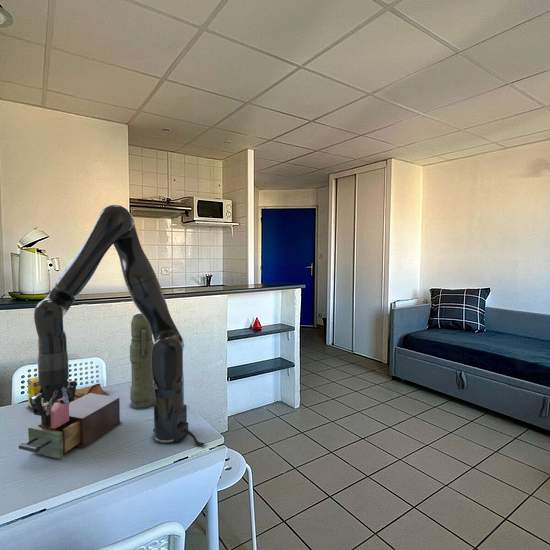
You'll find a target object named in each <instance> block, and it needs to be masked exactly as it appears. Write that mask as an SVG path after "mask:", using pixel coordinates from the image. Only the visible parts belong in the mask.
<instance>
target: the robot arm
mask: <svg viewBox="0 0 550 550" xmlns="http://www.w3.org/2000/svg"><path fill="white" fill-rule="evenodd" d="M134 219H135V218H134V217H133V215H132V214H131V212H130V211H129V210H128V209H127V208H126V207H124V206H122V205H119V204H111V205H108V206H106V207H104V208H103V209H102V210H101V211H100V213H99V215H98V218H97V219H96V222H95V224H94V225H93V228H92V230H91V231H90V233H89V235H88V237H87V238H86V240H85V241H84V243H83V245H82V246H81V247H80V248H79V250H78V251H77V253H76V254H75V256H74V257H73V258H72V260H71V261H70V262H69V263H68V264H67V266H66V267H65V269H64V270H63V271H62V273H61V274H60V275H59V277H58V278H57V280H56V281H55V283H54V287H53V288H52V289H51V291H50V292H49V293H48V294H47V296H46V297H45V298H44V299H43V300H41V301H39V302H38V303H37V304H36V305H35V308H34V311H33V320H34V326H35V330H36V334H37V349H38V350H37V351H38V354H37V355H38V356H37V373H38V374H37V377H38V379H39V384H40V387H41V388H40V391H39V394H37V395H36V396H31V397H30V398H29V400H30V403H31V406H32V409H31V410H32V412H33V415H34V416H38V417H40V421H41V420H42V426H43V427H47V428H48V427H50V426H51V416H50V412H51V408H52V407H53V405H54V402H55V401H56V400H57V399H58V400H59V403H62V404H68V405H69V403H70V402H71V401H74V398H75V391H76V389H77V385H78V381H77V380H73V379H72V380H70V371H69V370H70V368H69V354H68V342H67V339H68V337H67V333H66V331H65V330H64V317H65V315H66V314H67V313H68V311H69V310H70V308H71V306H72V305H73V303H74V302H75V300H76V299H77V297H78V296H79V295H80V294H81V293H82V291H83V290H84V289H85V287H86V286H87V284H88V283H89V282H90V280H91V279H92V277H93V276H94V274H95V273H96V271H97V269H98V267H99V265H100V264H101V261H102V260H103V258H104V256H105V255H106V254H107V252H108V251H109V250H110V248H111V247H112V246H113V247H114V249H115V251H116V253H117V256H118V259H119V263H120V269H121V272H122V277H123V279H124V282H125V286H126V289H127V290H128V293H129V295H130V298H131V300H132V302H133V304H134V305H135V307H136V308H137V310H138V311H139V312H140V314H142V315H143V316H144V317H145V319H146V320H147V322H148V324H149V326H150V329H151V331H152V338H153V340H154V341H153V343H154V345H153V347H152V377H153V383H154V405H153V426H154V427H153V429H152V433H153V439H154V441H155V442H157V443H161V444H170V443H178V442H179V441H180V440H181V439H182V438H183V437H184V436H186V434H187V435H189V436H190V437H191V438H192V440H193V442H194V443H195V444H196V445H197V446H202V447H203V446H204V445H205V443H204V442H200V441H199V440H198V439H197V437H196V435H194V434H193V433H192V431H190V430H189V422H188V416H187V415H188V407H187V406H188V405H187V404H185V374H184V366H183V365H184V349H185V341H184V339H183V336H182V335H181V333H180V331H179V329H178V328H177V326H176V324H175V322H174V320H173V318H172V316H171V313H170V310H169V308H168V303H167V301H166V298H165V295H164V292H163V290H162V286H161V284H160V281H159V279H158V277H157V274H156V272H155V269H154V268H153V266H152V264H151V262H150V261H149V257H147V255H146V253H145V251H144V249H143V247H142V245H141V242H140V239H139V235H138V231H137V228H136V224H135V220H134ZM70 393H71V396H70ZM41 398H42V400H41ZM46 401H48V402H49V403H47V402H46ZM46 407H47V408H46Z"/></svg>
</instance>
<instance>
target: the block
mask: <svg viewBox="0 0 550 550" xmlns="http://www.w3.org/2000/svg"><path fill="white" fill-rule="evenodd" d="M46 408H47V407H46ZM50 416H51V426H50V427H49V428H54V429H55V428H57V427H59V426H61V425H62V424H64V423H66V422H68V421H69V405H68V404H62V403H54V405H53V407H52V408H51V412H50ZM40 423H41V426H42V420H41V419H40Z"/></svg>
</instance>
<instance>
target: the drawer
mask: <svg viewBox="0 0 550 550" xmlns="http://www.w3.org/2000/svg"><path fill="white" fill-rule="evenodd" d="M27 435H28V441H26V442H25V443H24V442H21V443H19V445H18V450H23V451H27V452H29V453H33V454H38V455H41V456H47V457H50V458H55V459H62V458H63V457H64V453H67V452H68V451H70V450H71V449H73V448H75V447H77V446H76V445H78V444H79V443H81V421H80V420H74V419H69V421H68V422H66V423H64V424H62V425H61V426H59V427H57V428H55V429H54V428H49V427H48V428H47V427H43V426H41V422H40V423H38V424H37V426H36V425H31V426H28V427H27Z"/></svg>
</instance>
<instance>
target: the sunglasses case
mask: <svg viewBox="0 0 550 550" xmlns="http://www.w3.org/2000/svg"><path fill="white" fill-rule="evenodd" d="M89 393H93V394H99V395H105V396H108V395H107V394H106V393H105V391H104V389H103V388H102V386H101V383H95V384H93V385H89V386H84V387H81V388H76V391H75V398H74V401H75V400H77V399H79V398H81V397H83V396H85V395H87V394H89ZM70 396H71V393H70ZM71 402H73V401H71ZM71 402H70V403H71ZM54 403H59V400H58V399H57V400H56V401H55V402H54Z"/></svg>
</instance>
